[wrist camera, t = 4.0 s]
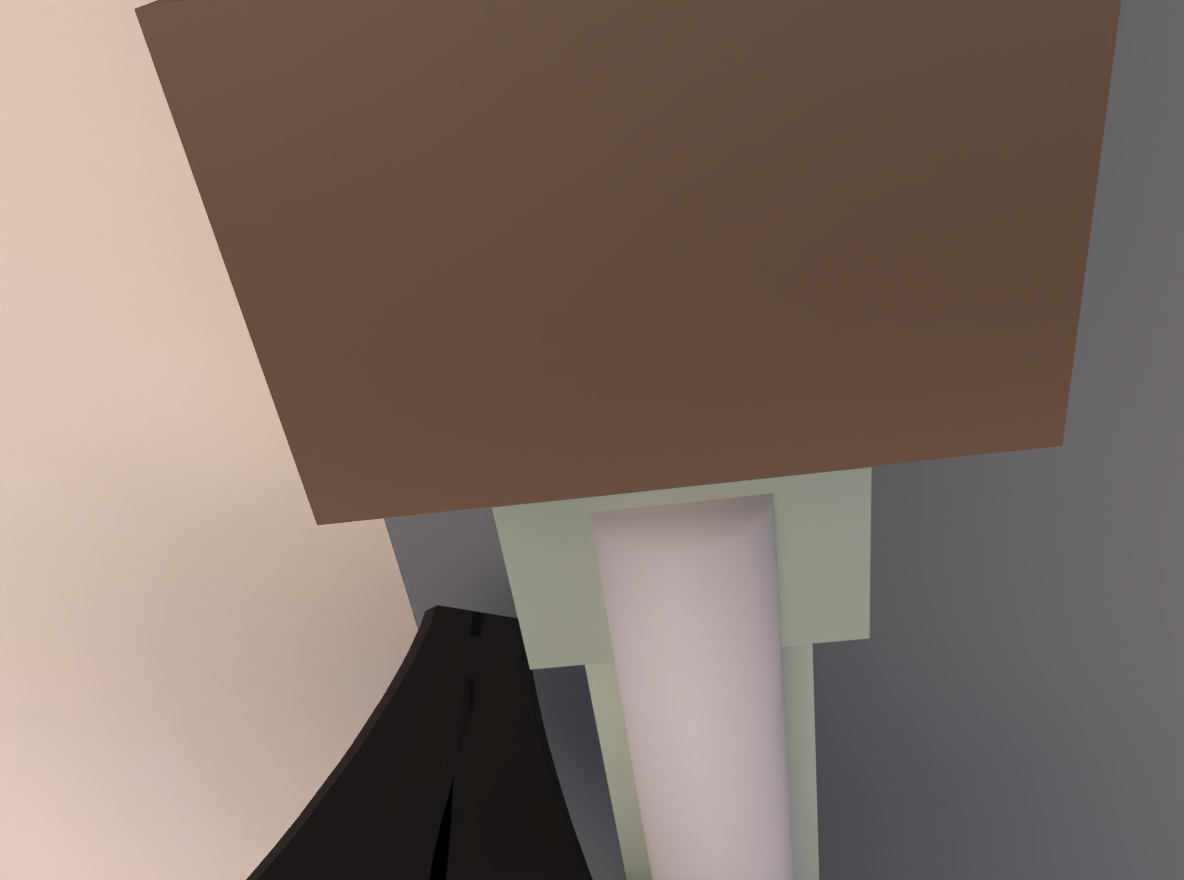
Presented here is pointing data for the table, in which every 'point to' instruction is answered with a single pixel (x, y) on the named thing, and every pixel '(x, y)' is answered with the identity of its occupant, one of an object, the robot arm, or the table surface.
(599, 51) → the gate posts
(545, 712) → the yard mat
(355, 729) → the table surface
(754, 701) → the gate
